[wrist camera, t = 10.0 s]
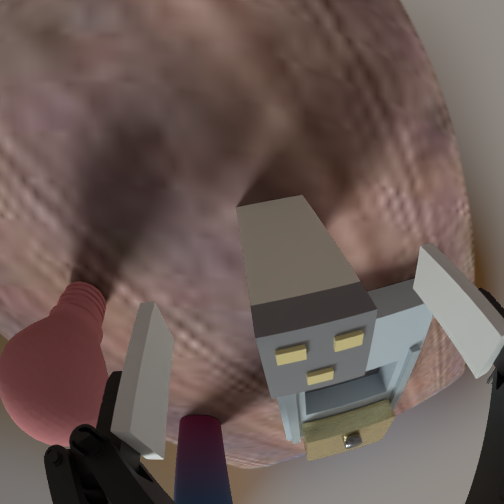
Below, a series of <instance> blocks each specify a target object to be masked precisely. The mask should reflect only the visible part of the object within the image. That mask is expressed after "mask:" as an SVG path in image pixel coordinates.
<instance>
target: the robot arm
mask: <svg viewBox="0 0 504 504" xmlns="http://www.w3.org/2000/svg"><path fill="white" fill-rule="evenodd" d="M413 289H414V290H415V292H416V293H417V294H418V295H419V297H420V298H421V299H422V301H423V302H424V303H425V305H426V306H427V307H428V309H429V310H430V311H431V313H432V314H433V315H434V317H435V318H436V319H437V321H438V322H439V324H440V325H441V326H442V328H443V329H444V331H445V332H446V334H447V335H448V336H449V338H450V339H451V341H452V342H453V344H454V345H455V347H456V348H457V350H458V351H459V353H460V354H461V356H462V357H463V359H464V360H465V362H466V363H467V365H468V366H469V368H470V370H471V371H472V373H473V374H474V376H475V377H476V379H477V378H479V377H480V376H482V375H483V374H485V373H487V372H488V371H489V369H490V368H491V366H492V365H493V364H494V365H495V367H496V368H495V370H494V371H493V373H492V374H491V376H490V377H489V379H488V381H487V383H489V382H490V381H491V379H492V378H493V382H492V393H491V402H490V409H489V415H488V421H487V427H486V432H485V437H484V441H483V446H482V450H481V454H480V458H479V462H478V466H477V470H476V473H475V476H474V479H473V483H472V486H471V489H470V491H469V494H468V497H467V500H466V503H465V504H504V308H502V307H501V305H500V304H499V303H498V302H496V299H495V298H494V297H493V296H492V295H491V294H490V293H489V292H487V291H486V290H484V289H482V288H479V289H477V288H476V287H475V285H474V284H473V283H472V282H471V281H470V280H469V279H468V278H467V277H466V276H465V275H464V274H463V273H462V272H461V271H460V270H459V269H458V268H457V267H456V266H455V265H454V264H453V263H452V262H451V261H450V260H449V259H448V258H447V257H446V256H445V255H444V254H443V253H442V252H441V251H440V250H439V249H438V248H437V247H435V246H434V245H433V244H432V243H429V244H425V245H421V246H420V251H419V257H418V263H417V269H416V275H415V280H414V285H413ZM173 348H174V339H173V337H172V335H171V333H170V331H169V329H168V327H167V325H166V323H165V321H164V319H163V317H162V315H161V313H160V311H159V309H158V306H157V304H156V302H155V301H152V302H146V303H140V307H139V310H138V313H137V317H136V321H135V324H134V328H133V331H132V335H131V339H130V343H129V347H128V351H127V355H126V359H125V363H124V367H123V371H115V372H112V374H111V375H110V377H109V378H108V380H107V382H106V386H105V390H104V394H103V398H102V402H101V407H100V411H99V416H98V420H97V425H96V428H95V427H93V426H91V425H89V424H81V425H79V426H77V427H76V428H75V429H74V430H73V431H72V433H71V435H70V438H69V444H70V448H71V449H65V448H64V447H63V446H61V445H58V444H57V445H52V446H51V447H49V448H48V450H47V451H46V453H45V456H44V464H45V469H46V475H47V480H48V484H49V489H50V493H51V497H52V501H53V504H176V503H175V502H174V501H173V500H172V499H171V498H170V496H169V495H168V494H167V493H166V492H165V491H164V490H163V488H161V486H160V485H159V484H158V483H157V481H156V480H155V479H154V478H153V477H152V475H151V474H150V473H149V472H148V470H147V469H146V468H145V466H144V465H143V464H142V463H141V462H140V454H141V455H142V456H143V457H145V458H146V459H164V454H165V437H166V422H167V409H168V397H169V386H170V376H171V366H172V357H173Z"/></svg>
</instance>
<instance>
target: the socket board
mask: <svg viewBox="0 0 504 504" xmlns="http://www.w3.org/2000/svg"><path fill="white" fill-rule="evenodd" d="M414 280H415V278H414V279H410V280H407V281H404V282H400V283H397V284H393V285H389V286H386V287H382V288H379V289H375V290H371V291H367V292H368V294H369V296H370V297H371V299H372V301H373V302H374V304H375V306H376V307H377V309H378V310H377V316H376V322H375V328H374V333H373V339H372V344H371V349H370V353H369V358H368V363H367V367H366V372H365V375H364V376H361V377H357V378H354V379H351V380H347V381H344V382H340V383H337V384H333V385H329V386H325V387H322V388H318V389H313V390H309V391H305V392H301V393H296V394H292V395H287V396H282V397H277V400H278V404H279V408H280V412H281V417H282V421H283V425H284V430H285V434H286V438H287V441H289V440H292V442H293V444H295V443H300V442H301V438H303V426H302V424H303V423H308V422H312V421H316V420H320V419H324V418H328V417H331V416H335V415H339V414H342V413H346V412H349V411H352V410H356V409H359V408H362V407H365V406H368V405H371V404H374V403H377V402H380V401H383V400H385V399H388V400H389V402H390V404H391V407H392V409H393V410H394V408H395V406H396V404H397V402H398V400H399V398H400V396H401V394H402V392H403V390H404V388H405V386H406V384H407V381H408V379H409V377H410V375H411V372H412V370H413V368H414V365H415V363H416V361H417V358H418V356H419V353H420V351H421V348H422V345H423V343H424V340H425V337H426V335H427V332H428V329H429V326H430V323H431V320H432V317H433V314H432V313H431V311H430V310H429V309H428V307H427V306H426V305H425V303H424V302H423V301H422V299H421V298H420V297H419V295H418V294H417V293H416V292H415V290H414V289H413V285H414Z"/></svg>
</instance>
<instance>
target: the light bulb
mask: <svg viewBox="0 0 504 504" xmlns="http://www.w3.org/2000/svg"><path fill="white" fill-rule="evenodd" d="M105 310H106V301H105V298H104V297H103V295H102V293H101V292H100V291H99V290H98V289H97V288H96V287H94V286H92V285H91V284H89V283H86V282H80V281H76V282H73V283H71V284H69V285H68V286H67V287H66V289H65V291H64V293H63V294H62V295H61V296H60V299H59V301H58V303H57V305H56V306H54V307H53V309H52V310H51V312H50V314H49V316H48V317H46V318H44V319H42V320H40V321H37V322H35V323H33V324H31V325H30V326H28V327H27V328H25V329H23V330H22V331H20V332H18V333H17V334H16V335H15V336H14V337H12V338H11V339H10V341H9V342H8V343H7V344H6V346H5V348H4V350H3V352H2V354H1V357H0V396H1V399H2V402H3V404H4V406H5V408H6V410H7V412H8V413H9V415H10V416H11V418H12V419H13V421H14V422H15V423H16V424H17V425H18V426H19V427H20V428H21V429H22V430H23V431H24V432H26V433H27V434H28V435H30V436H31V437H33V438H35V439H36V440H39V441H41V442H43V443H46V444H50V445H57V444H58V445H61V446H70V444H69V438H70V435H71V433H72V431H73V430H74V429H75V428H76V427H77V426H79V425H81V424H89V425H91V426H93V427H95V428H96V425H97V420H98V416H99V411H100V407H101V402H102V398H103V394H104V390H105V386H106V382H107V380H108V378H109V377H108V373H107V369H106V364H105V361H104V357H103V354H102V351H101V348H100V343H101V341H102V338H103V331H102V328H101V327H102V323H103V320H104V313H105Z"/></svg>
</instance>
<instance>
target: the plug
mask: <svg viewBox="0 0 504 504" xmlns="http://www.w3.org/2000/svg"><path fill="white" fill-rule="evenodd" d="M236 210H237V217H238V224H239V231H240V238H241V245H242V252H243V259H244V266H245V272H246V279H247V286H248V292H249V299H250V306H251V312H252V319H253V326H254V332H255V339H256V342H257V346H258V350H259V354H260V358H261V362H262V366H263V369H264V373H265V377H266V381H267V385H268V388H269V392H270V396H271V399H272V398H277V397H282V396H287V395H292V394H296V393H301V392H305V391H309V390H313V389H318V388H322V387H325V386H329V385H333V384H337V383H340V382H344V381H347V380H351V379H354V378H357V377H361V376H364V375H365V372H366V367H367V363H368V358H369V353H370V349H371V344H372V339H373V333H374V328H375V322H376V316H377V310H378V309H377V307H376V306H375V304H374V302H373V301H372V299H371V297H370V296H369V294H368V292H367V291H366V289H365V288H364V286H363V284H362V283H361V281H360V280H359V278H358V276H357V275H356V273H355V272H354V270H353V268H352V267H351V265H350V264H349V262H348V261H347V259H346V258H345V256H344V255H343V253H342V252H341V250H340V248H339V247H338V245H337V244H336V242H335V241H334V239H333V238H332V237H331V235H330V234H329V232H328V231H327V229H326V228H325V226H324V225H323V223H322V222H321V220H320V219H319V218H318V216H317V215H316V213H315V212H314V210H313V209H312V208H311V206H310V205H309V203H308V202H307V201H306V199H305V198H304V196H303V195H298V196H292V197H287V198H281V199H276V200H271V201H266V202H260V203H255V204H250V205H245V206H240V207H236Z"/></svg>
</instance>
